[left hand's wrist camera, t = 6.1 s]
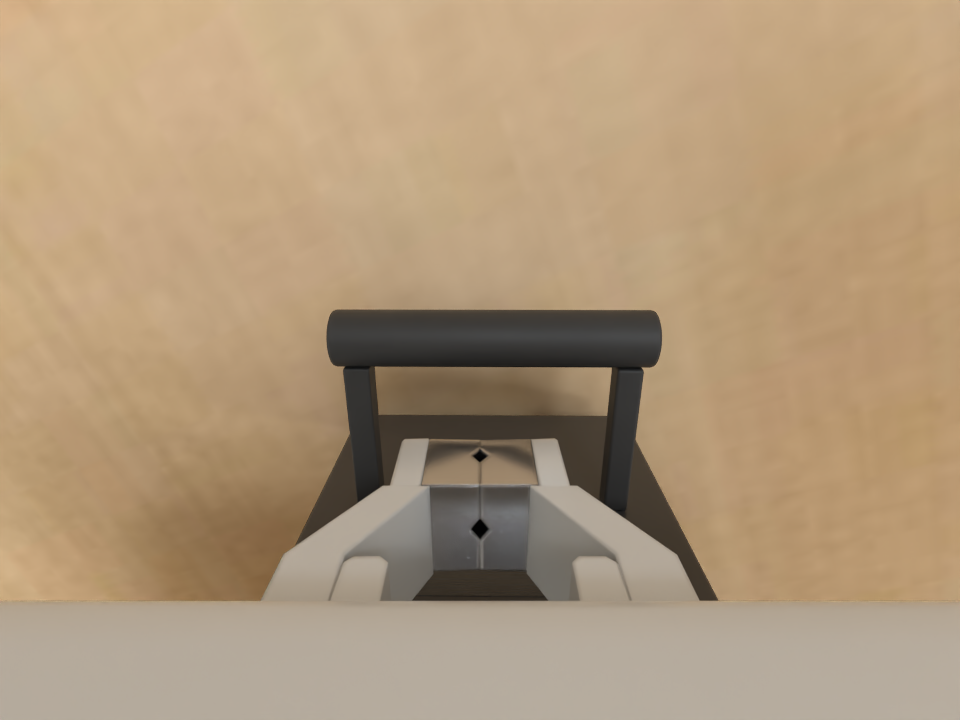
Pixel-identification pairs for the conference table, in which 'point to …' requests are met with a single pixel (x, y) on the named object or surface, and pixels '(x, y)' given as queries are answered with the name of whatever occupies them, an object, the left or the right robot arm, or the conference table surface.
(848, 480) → the conference table surface
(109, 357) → the conference table surface
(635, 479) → the drawer
